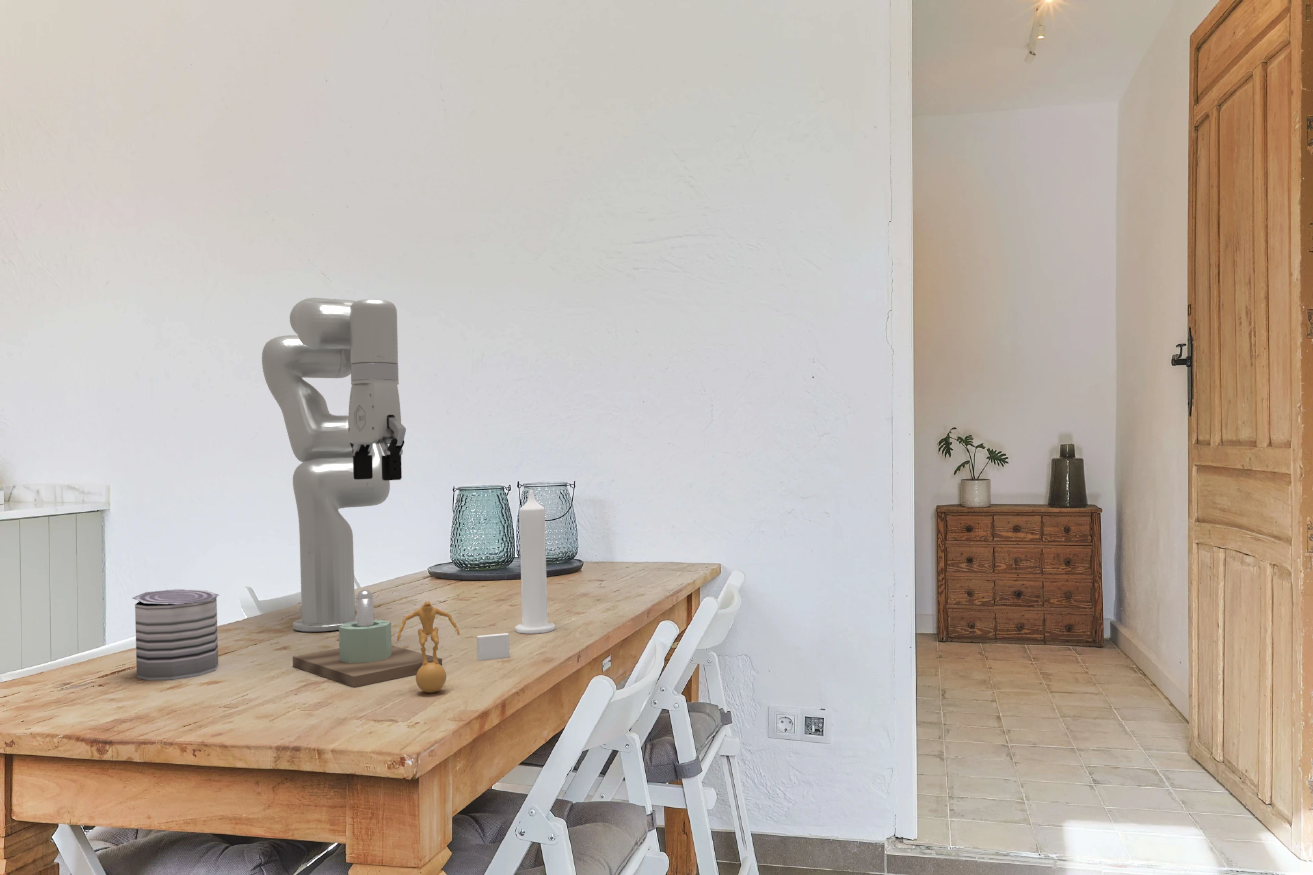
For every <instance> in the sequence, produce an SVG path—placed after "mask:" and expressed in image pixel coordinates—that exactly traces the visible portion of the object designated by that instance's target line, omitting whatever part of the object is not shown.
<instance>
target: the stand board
mask: <svg viewBox="0 0 1313 875" xmlns="http://www.w3.org/2000/svg"><path fill="white" fill-rule="evenodd" d="M426 659H427V662H428V663H430V662H433V655H431V654H426ZM437 661H438V663H439V664H440V665H441V666H442V667H443V658H441V657H438V656H437ZM422 665H423V657H422V652H418V651H414V650H411V649H406V648H403V647H399V646H395V645H392V655H391V656H390V657H388V658H387V659H384V660H379V661H374V662H369V663H347V662H343V661H340V653H339V647H337V648H333V649H326V650H321V651H316V652H310V653H306V654H299V655H294V656H292V667H294V668H297V669H300V670H303V671H306V672H308V673H312V674H315V675H317V676H319V677H324V678H326V679H329V680H331V681H335V682H337V683H341V684H343V685H346V686H349V687H352V688H357V687H358V688H359V687H362V686H366V685H367V686H368V685H371V684H375V683H381V682H386V681H391V680H396V679H400V678H405V677H411V676H414V675H415V676H416V674H417V672H418V670H419V668H420V667H421V666H422Z"/></svg>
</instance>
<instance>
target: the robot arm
mask: <svg viewBox="0 0 1313 875" xmlns="http://www.w3.org/2000/svg"><path fill="white" fill-rule="evenodd" d="M289 324H290V327H291V329H292V331H293V332H294V333H295V334H293V335H292V334H291V335H289V334H288V335H281V336H280V335H279V336H276V337H273V338H271V339H270V340H268V341H267V342H266V343H265V344H264V345H263V348H262V352H261V365H262V373H263V376H264V379H265V383H266V385H267V387H268V390H269V391H270V393H271V395H272V396H273V399H274V400H275V401H276V402H277V404H278V407H279V408H280V410H281V413H282V416H283V421H284V424H285V428H286V432H287V436H288V440H289V443H290V447H291V451H292V453H293V454H294V456H295V458H296V459H297V460H298V461H299V462H301V463H300V464H299V465H298V466H297V467H296V468H295V469H294V472H293V475H292V487H293V494H294V499H295V504H296V509H297V516H298V527H299V528H298V531H299V533H298V534H299V560H300V562H299V563H300V564H299V565H300V598H301V599H300V600H301V601H300V603H301V605H300V606H299V607H300V610H301V618H300V619H297V620H294V621H293V623H292V628H293V629H294V630H295V631H298V632H307V633H308V632H309V633H310V632H312V633H314V632H315V633H316V632H330V631H339V627H340V626H341V625H343V624H345V623H351V622H357V613H356V606H355V603H356V602H355V601H356V600H355V599H356V598H355V566H354V562H355V560H354V558H355V557H354V536H353V534H354V533H353V530H352V527H351V525H350V524H349V522H348V521H347V519H345V518H344V516H343V515H342V513H340V511H339V510H340V509H345V508H358V507H359V508H361V507H371V506H373V507H374V506H378V505H381V504H382V503H384V502H385V501H386V500H387V498H388V497H389V494H390V490H391V483H390V482H391V481H401V479H403V476H402V471H403V470H402V455H403V453H404V450H403V447H404V444H405V436H406V430H407V429H406V427H405V426H404V425H403V423H402V414H401V402H400V394H399V388H398V385H399V383H400V382H399V379H400V378H399V354H398V353H399V350H398V349H399V347H398V346H399V344H398V343H399V342H398V310H397V307H396V305H395V304H394V302H391V301H389V300H385V299H374V298H373V299H370V298H369V299H359V300H350V299H340V298H339V299H336V298H325V297H324V298H322V297H309V298H308V297H307V298H304V299H302V300H299V302H297V303H296V304H295V305H293V307H292V309H291V310H290V314H289ZM348 376H350V384H351V387H350V391H349V392H350V393H349V401H348V402H349V403H348V415H335V414H331V412H330V411H329V407H328V405H327V404H328V403H327V401H326V399H325V398H324V396H323V395H322V393H320V392H319V390H318V389H317V388H316V387H314V386H313V384H310V383H309V382H307V381H306V380H304V378H306V379H308V378H310V379H311V378H312V379H343V378H346V377H348Z"/></svg>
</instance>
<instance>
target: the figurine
mask: <svg viewBox="0 0 1313 875" xmlns="http://www.w3.org/2000/svg"><path fill="white" fill-rule="evenodd" d="M437 615H438V616H442V617H447V618H448V621H449V622H450V623H451V625H452V626H453V628H455V632H456V635H457V636H460V629H459V627H458V626H457V623H456V622H455V621H454V619H453V618H452V615H451V614H450V613H449V612H446V611H445V610H444V611H443V610H441V609H439V608H438V607H434V606H432V604H431V602H430V601H429V600H426V601H425V602H424V603H423V605H421V606H420V607H419V608H418V609H416V610H414V611H413V612H411V613H410V614H408V615H406V616H405V617H403V619H402V621H401V625H400V628H399V630H398V632H397V635H396V637H397V638H396V640H397V642H399V641H401V638H402V637H403V636H402V632H403V630H404V628H405V625H406V623H407V621H409V620H411V619H414V618H416V617H418V619H419V620H420V624H421V626H422V628H419V629H418V630H417V634H418V642H419V644H420V646H421V647H420V651H421V652H420V653H422V657H423V665H422V666H421V667H420V668H419V670H418V672H417V674H415V682H416V685H417V687H418V688H419V690H421V691H423V692H424V693H428V694H431V693H432V694H433V693H437V692H439V691H440V690H441V689H442V688H443V687H444V686H445V684H446V681H447V672H446V670H445V668H444V667H443V665H442V666H441V665H440V664H439V663H438V661H437V657H438V656H437V655H438V654H437V651H438V650H439V645H440V644H439V643H440V638H439V628H438V627H437V626H435V627H433V626H434V622H435V619H436V616H437ZM428 636H430V640H431V641H432V642H433V644H434V645H433V647H432V656H433V662H430V663H428V662H427V659H426V655H427V653H426V651H427V648H426V642H427V640H428Z"/></svg>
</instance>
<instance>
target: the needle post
mask: <svg viewBox="0 0 1313 875" xmlns="http://www.w3.org/2000/svg"><path fill="white" fill-rule="evenodd" d="M355 599H356V600H355V601H356V602H355V603H356V615H357V627H369V626H374V620H375V619H374V594H373V593H372V592H371V591H370V590H367V589H362V590H361V591H358V593H357V594H356V598H355Z"/></svg>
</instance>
